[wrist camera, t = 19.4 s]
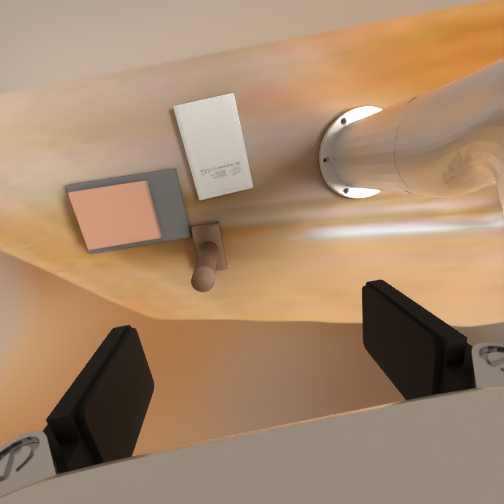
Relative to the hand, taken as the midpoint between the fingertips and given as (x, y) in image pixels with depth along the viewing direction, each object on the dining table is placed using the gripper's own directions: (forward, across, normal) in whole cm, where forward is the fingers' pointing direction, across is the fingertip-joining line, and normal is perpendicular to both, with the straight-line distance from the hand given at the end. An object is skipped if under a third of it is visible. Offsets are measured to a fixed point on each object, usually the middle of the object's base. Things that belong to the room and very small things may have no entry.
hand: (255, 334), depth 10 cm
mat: (+30, +14, -3) cm, 34 cm away
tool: (+30, +4, +4) cm, 31 cm away
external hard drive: (+31, +1, -10) cm, 32 cm away
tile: (+29, +11, -3) cm, 31 cm away
